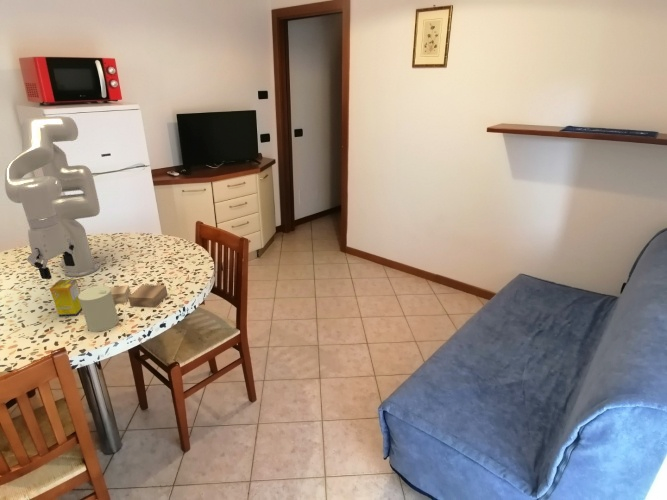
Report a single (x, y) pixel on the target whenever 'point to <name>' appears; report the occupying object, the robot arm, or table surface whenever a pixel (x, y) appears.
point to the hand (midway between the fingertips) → (59, 272)
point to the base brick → (148, 296)
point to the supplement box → (66, 297)
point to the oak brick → (120, 294)
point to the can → (98, 308)
